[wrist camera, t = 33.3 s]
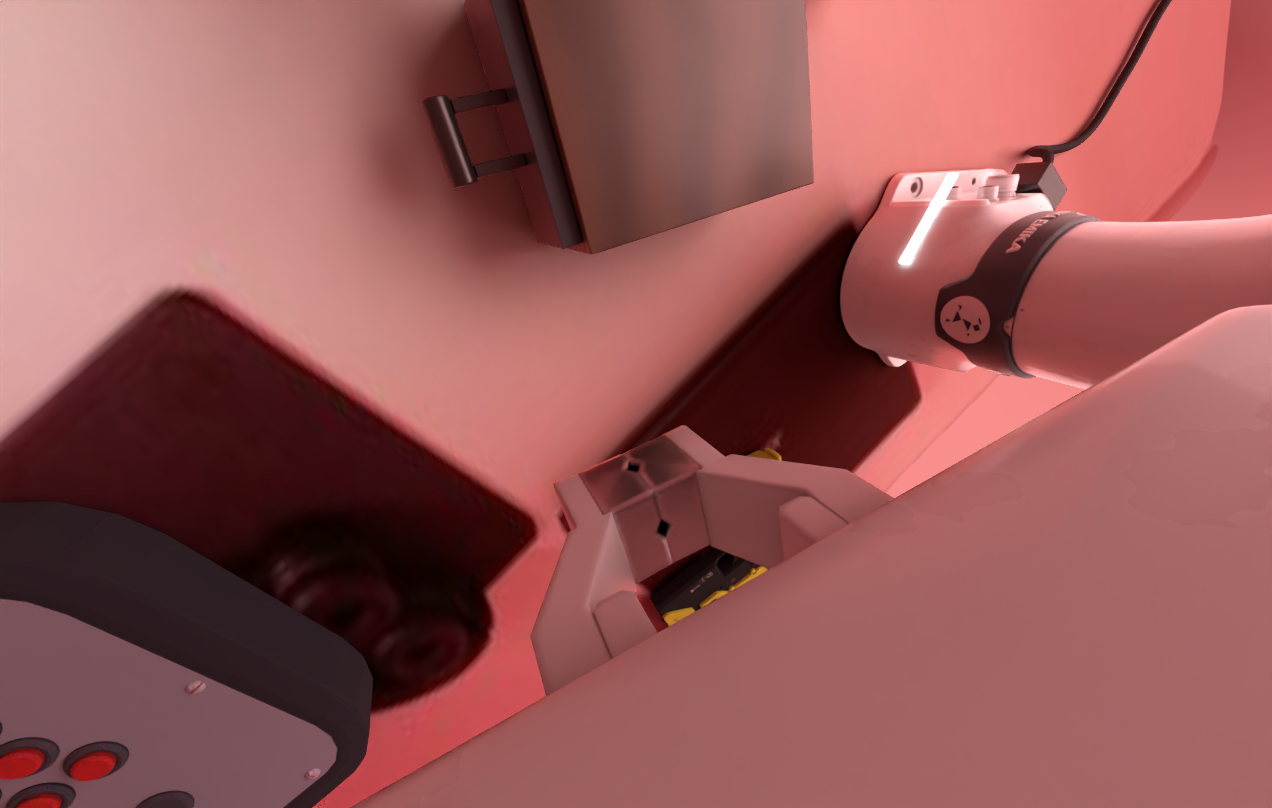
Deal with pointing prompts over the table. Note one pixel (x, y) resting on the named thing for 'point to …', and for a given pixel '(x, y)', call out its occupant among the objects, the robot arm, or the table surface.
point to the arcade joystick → (161, 675)
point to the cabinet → (672, 107)
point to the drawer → (509, 122)
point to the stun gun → (706, 577)
